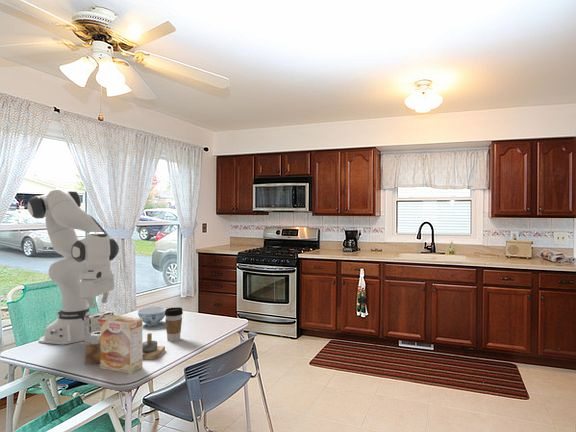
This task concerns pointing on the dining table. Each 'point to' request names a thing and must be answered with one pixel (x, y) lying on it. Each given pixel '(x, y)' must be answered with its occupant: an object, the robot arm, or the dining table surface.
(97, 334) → the faceted octagonal planter
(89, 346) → the stand
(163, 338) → the dining table surface
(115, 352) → the coffeecake box
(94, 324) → the candy bar box
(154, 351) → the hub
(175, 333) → the coffee cup
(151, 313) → the chinaware
